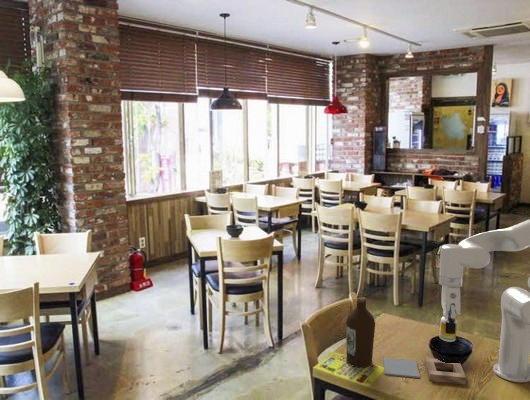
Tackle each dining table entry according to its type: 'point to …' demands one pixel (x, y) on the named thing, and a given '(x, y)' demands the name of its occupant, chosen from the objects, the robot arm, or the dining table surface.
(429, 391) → the dining table surface
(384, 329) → the dining table surface
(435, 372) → the frame
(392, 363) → the slate coaster
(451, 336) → the supplement bottle
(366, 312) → the olive oil
